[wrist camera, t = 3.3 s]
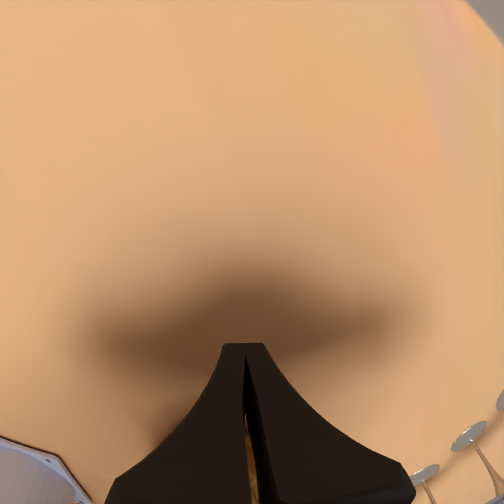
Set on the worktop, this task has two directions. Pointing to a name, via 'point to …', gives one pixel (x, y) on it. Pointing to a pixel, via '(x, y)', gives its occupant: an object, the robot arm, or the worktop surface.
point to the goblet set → (460, 444)
